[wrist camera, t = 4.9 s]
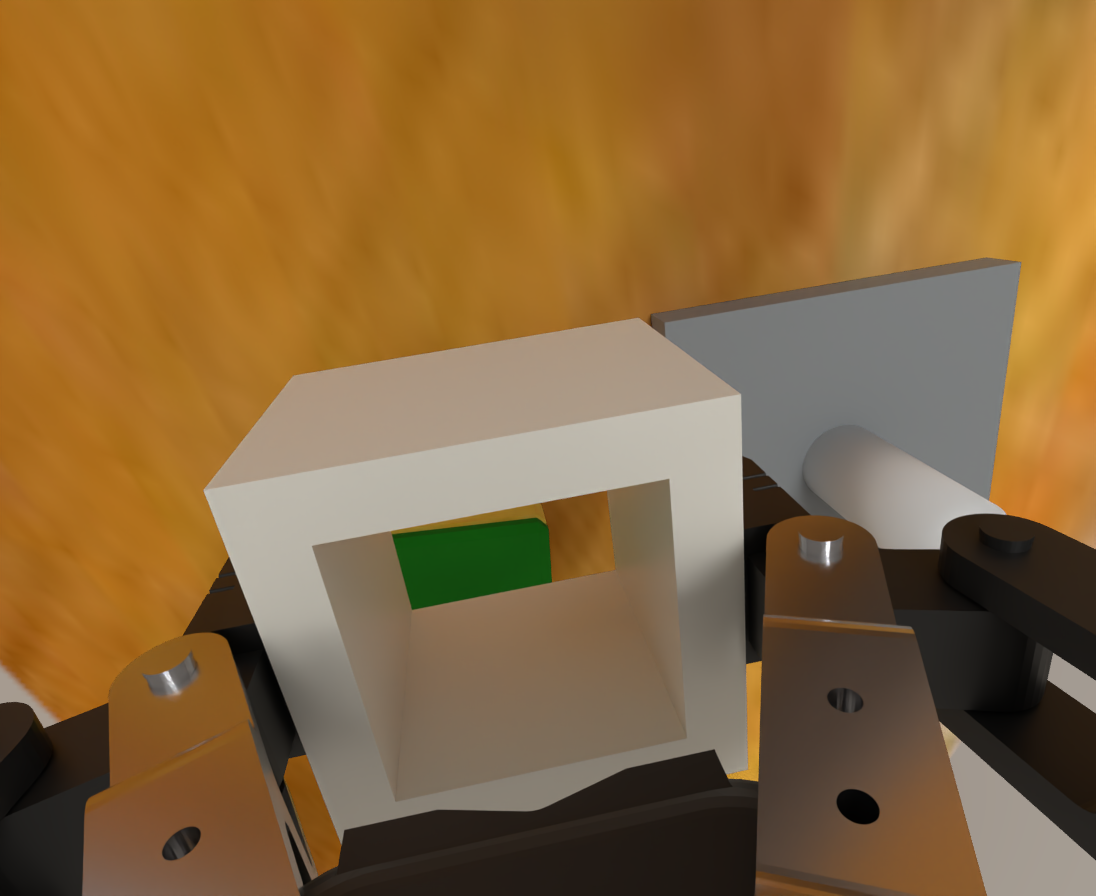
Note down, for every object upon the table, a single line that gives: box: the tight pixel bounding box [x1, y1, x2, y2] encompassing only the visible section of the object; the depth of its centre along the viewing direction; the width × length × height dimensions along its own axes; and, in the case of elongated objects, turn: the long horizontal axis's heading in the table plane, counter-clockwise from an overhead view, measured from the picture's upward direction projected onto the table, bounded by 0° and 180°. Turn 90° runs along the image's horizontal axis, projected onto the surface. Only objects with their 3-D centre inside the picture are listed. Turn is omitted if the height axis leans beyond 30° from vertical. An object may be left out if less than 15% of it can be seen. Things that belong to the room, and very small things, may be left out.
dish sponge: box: [391, 503, 552, 610], centre depth 25 cm, size 7×14×2 cm, turn 3°
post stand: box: [651, 258, 1021, 549], centre depth 21 cm, size 12×12×8 cm
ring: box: [203, 318, 748, 845], centre depth 10 cm, size 6×6×4 cm
